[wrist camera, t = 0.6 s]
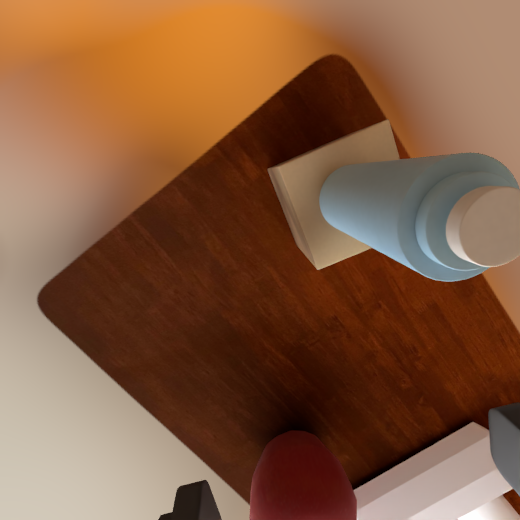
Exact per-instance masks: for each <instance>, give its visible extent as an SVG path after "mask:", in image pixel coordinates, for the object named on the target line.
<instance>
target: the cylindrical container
mask: <svg viewBox="0 0 520 520" xmlns="http://www.w3.org/2000/svg"><path fill="white" fill-rule="evenodd" d="M458 520H520V516H519V515H518V513H517V512H516V511H515V510H514V508H513V507H512V506H511V505H510V504H509V502H508V501H507V500H506V499H505V498H504V496H503V495H500V496H499V497H497V498H495V499H493V500H491V501H490V502H488V503H486V504H484V505H482V506H480V507H479V508H477V509H475V510H473V511H471V512H469V513H468V514H466V515H464V516H462V517H460V518H458Z"/></svg>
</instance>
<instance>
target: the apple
mask: <svg viewBox="0 0 520 520" xmlns="http://www.w3.org/2000/svg"><path fill="white" fill-rule="evenodd" d="M250 520H357V499H356V496H355V494H354V491H353V489H352V486H351V484H350V482H349V480H348V478H347V476H346V474H345V472H344V469H343V467H342V465H341V463H340V461H339V460H338V459H337V458H336V457H335V456H334V455H333V454H332V453H331V451H330V450H329V449H328V448H327V447H326V446H325V445H324V444H323V443H322V442H321V441H320V440H319V439H318V437H317V436H316V435H313V434H311V433H308V432H306V431H288V432H286V433H283V434H281V435H278V436H277V437H275V438H274V439H272V440H271V441H270V442H268V443H267V445H266V447H265V449H264V451H263V453H262V455H261V457H260V460H259V462H258V465H257V467H256V470H255V472H254V475H253V479H252V487H251V501H250Z"/></svg>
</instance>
